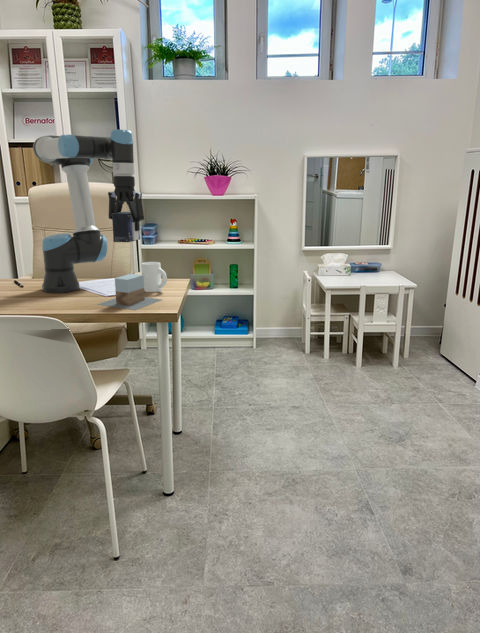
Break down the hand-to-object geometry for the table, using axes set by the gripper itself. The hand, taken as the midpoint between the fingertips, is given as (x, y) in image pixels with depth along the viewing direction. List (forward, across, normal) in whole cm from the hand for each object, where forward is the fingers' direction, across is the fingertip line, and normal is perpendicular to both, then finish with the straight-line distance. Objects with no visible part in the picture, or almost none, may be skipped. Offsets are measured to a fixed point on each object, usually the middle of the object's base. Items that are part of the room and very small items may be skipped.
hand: (127, 239), depth 180 cm
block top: (+19, 0, 0) cm, 19 cm away
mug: (+25, -3, +21) cm, 33 cm away
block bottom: (+24, 0, 0) cm, 24 cm away
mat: (+25, 0, 0) cm, 25 cm away
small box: (+1, 0, 0) cm, 1 cm away
